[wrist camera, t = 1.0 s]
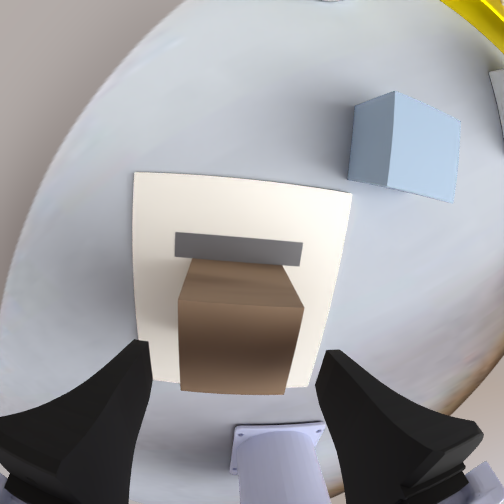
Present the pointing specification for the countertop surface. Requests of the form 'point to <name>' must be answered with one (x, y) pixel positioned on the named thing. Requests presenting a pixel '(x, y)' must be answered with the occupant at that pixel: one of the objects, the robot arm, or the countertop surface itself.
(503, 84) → the small box
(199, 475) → the countertop surface
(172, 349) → the letter card
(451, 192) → the dusty blue cube
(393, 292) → the countertop surface
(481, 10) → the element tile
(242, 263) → the walnut block
